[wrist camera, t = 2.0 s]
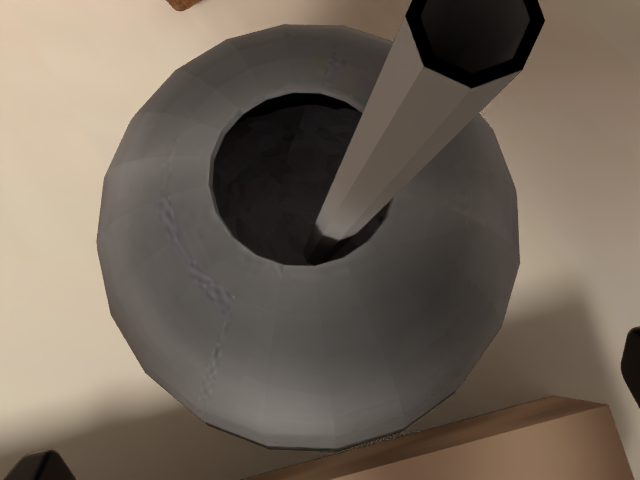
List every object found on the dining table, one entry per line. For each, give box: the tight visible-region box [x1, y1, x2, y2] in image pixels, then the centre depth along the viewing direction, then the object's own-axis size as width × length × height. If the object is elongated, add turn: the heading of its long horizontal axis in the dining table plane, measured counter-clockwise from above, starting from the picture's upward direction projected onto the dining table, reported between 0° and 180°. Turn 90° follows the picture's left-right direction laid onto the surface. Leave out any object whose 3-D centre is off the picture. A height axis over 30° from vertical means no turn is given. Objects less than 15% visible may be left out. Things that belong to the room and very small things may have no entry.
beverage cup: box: [97, 0, 545, 452], centre depth 12 cm, size 7×7×20 cm
